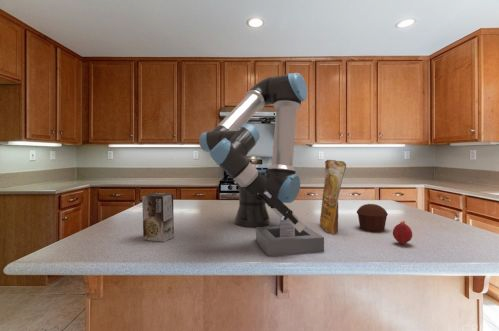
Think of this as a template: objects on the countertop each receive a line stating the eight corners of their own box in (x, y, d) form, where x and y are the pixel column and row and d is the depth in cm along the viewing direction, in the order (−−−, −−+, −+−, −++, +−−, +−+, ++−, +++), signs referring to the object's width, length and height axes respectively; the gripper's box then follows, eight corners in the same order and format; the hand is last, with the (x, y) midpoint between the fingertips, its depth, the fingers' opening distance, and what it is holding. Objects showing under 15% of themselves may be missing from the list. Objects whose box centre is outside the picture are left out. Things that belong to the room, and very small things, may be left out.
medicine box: (293, 246, 88) (294, 219, 88) (279, 245, 89) (279, 219, 88) (294, 239, 96) (294, 214, 95) (281, 238, 97) (281, 213, 96)
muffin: (392, 229, 112) (392, 204, 111) (381, 235, 104) (382, 208, 104) (362, 224, 120) (363, 201, 120) (351, 229, 113) (351, 204, 112)
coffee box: (174, 237, 102) (174, 193, 101) (163, 242, 96) (163, 196, 95) (154, 234, 105) (153, 192, 104) (142, 239, 99) (141, 194, 98)
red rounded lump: (411, 248, 89) (412, 223, 89) (391, 245, 92) (392, 221, 92) (412, 243, 94) (412, 220, 94) (393, 240, 97) (393, 218, 97)
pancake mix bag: (332, 223, 122) (332, 159, 121) (346, 235, 103) (347, 160, 102) (316, 223, 122) (317, 159, 121) (328, 235, 103) (329, 160, 102)
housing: (256, 239, 98) (256, 227, 98) (303, 236, 102) (303, 224, 102) (268, 256, 83) (268, 241, 82) (324, 251, 86) (324, 237, 86)
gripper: (236, 184, 100) (276, 223, 104) (250, 193, 76) (301, 244, 80) (250, 169, 101) (289, 208, 105) (269, 174, 77) (318, 224, 81)
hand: (294, 224), depth 92 cm, fingers open, 13 cm apart
